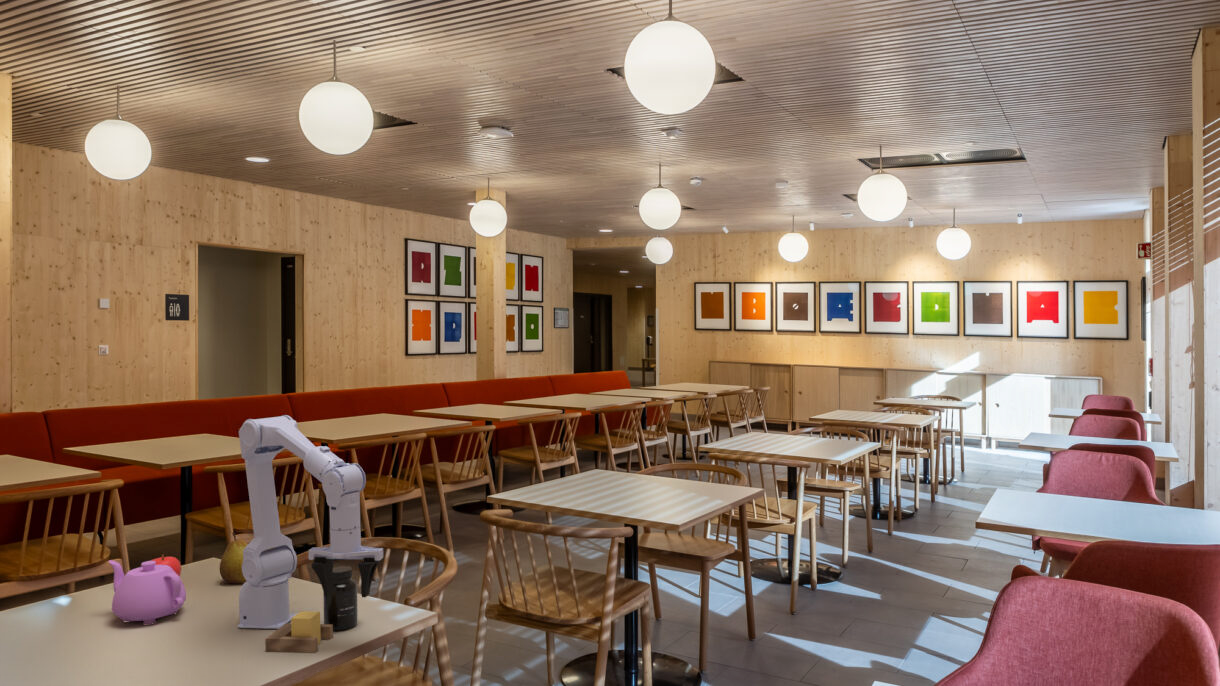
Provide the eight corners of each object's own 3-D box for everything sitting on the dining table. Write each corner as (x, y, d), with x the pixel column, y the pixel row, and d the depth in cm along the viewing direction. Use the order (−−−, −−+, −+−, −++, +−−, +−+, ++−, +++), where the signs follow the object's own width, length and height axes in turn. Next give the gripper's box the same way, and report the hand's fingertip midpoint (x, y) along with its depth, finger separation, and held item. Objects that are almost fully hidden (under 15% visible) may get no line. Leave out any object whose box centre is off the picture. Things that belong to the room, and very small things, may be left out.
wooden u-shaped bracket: (265, 651, 158) (265, 638, 157) (286, 635, 165) (285, 623, 165) (314, 652, 156) (314, 639, 156) (333, 636, 164) (332, 624, 164)
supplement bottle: (347, 632, 166) (346, 575, 166) (317, 630, 168) (315, 573, 168) (364, 620, 173) (362, 565, 173) (335, 619, 175) (333, 563, 174)
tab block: (301, 640, 163) (301, 611, 163) (320, 641, 162) (320, 611, 162) (291, 648, 159) (291, 618, 159) (311, 649, 158) (310, 618, 158)
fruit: (257, 584, 200) (256, 536, 199) (217, 588, 197) (215, 539, 197) (262, 574, 208) (260, 527, 208) (223, 577, 205) (222, 530, 205)
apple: (137, 591, 196) (136, 558, 196) (161, 580, 204) (160, 549, 204) (166, 592, 195) (165, 559, 194) (189, 582, 202) (188, 550, 202)
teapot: (82, 623, 174) (81, 568, 174) (138, 602, 188) (136, 550, 188) (156, 632, 169) (154, 574, 168) (208, 609, 182) (206, 555, 182)
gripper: (300, 531, 156) (302, 601, 156) (372, 532, 155) (374, 602, 155) (317, 522, 163) (319, 589, 164) (386, 523, 162) (388, 590, 162)
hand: (347, 595), depth 160 cm, fingers open, 7 cm apart
